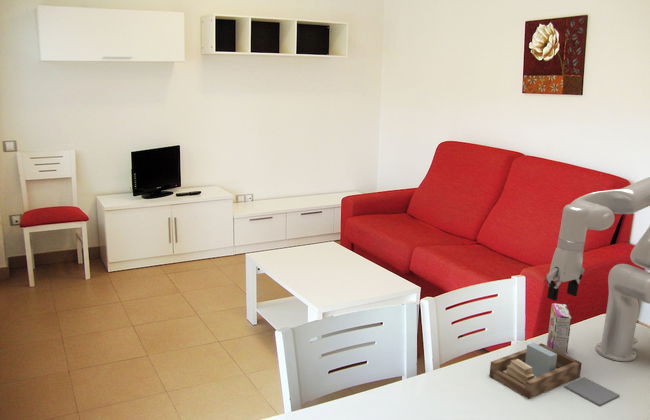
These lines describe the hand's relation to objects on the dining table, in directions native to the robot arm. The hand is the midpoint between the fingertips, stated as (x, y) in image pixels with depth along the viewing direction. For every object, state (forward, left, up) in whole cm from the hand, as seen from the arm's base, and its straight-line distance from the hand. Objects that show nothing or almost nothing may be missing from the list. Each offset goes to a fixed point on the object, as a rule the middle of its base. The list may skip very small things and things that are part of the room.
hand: (561, 296), depth 194 cm
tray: (+9, 0, -25) cm, 27 cm away
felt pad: (+1, +15, -25) cm, 29 cm away
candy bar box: (-10, -6, -25) cm, 28 cm away
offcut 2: (+16, 0, -21) cm, 26 cm away
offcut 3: (+17, +1, -23) cm, 28 cm away
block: (+7, 0, -25) cm, 26 cm away
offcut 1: (+17, 0, -26) cm, 30 cm away
